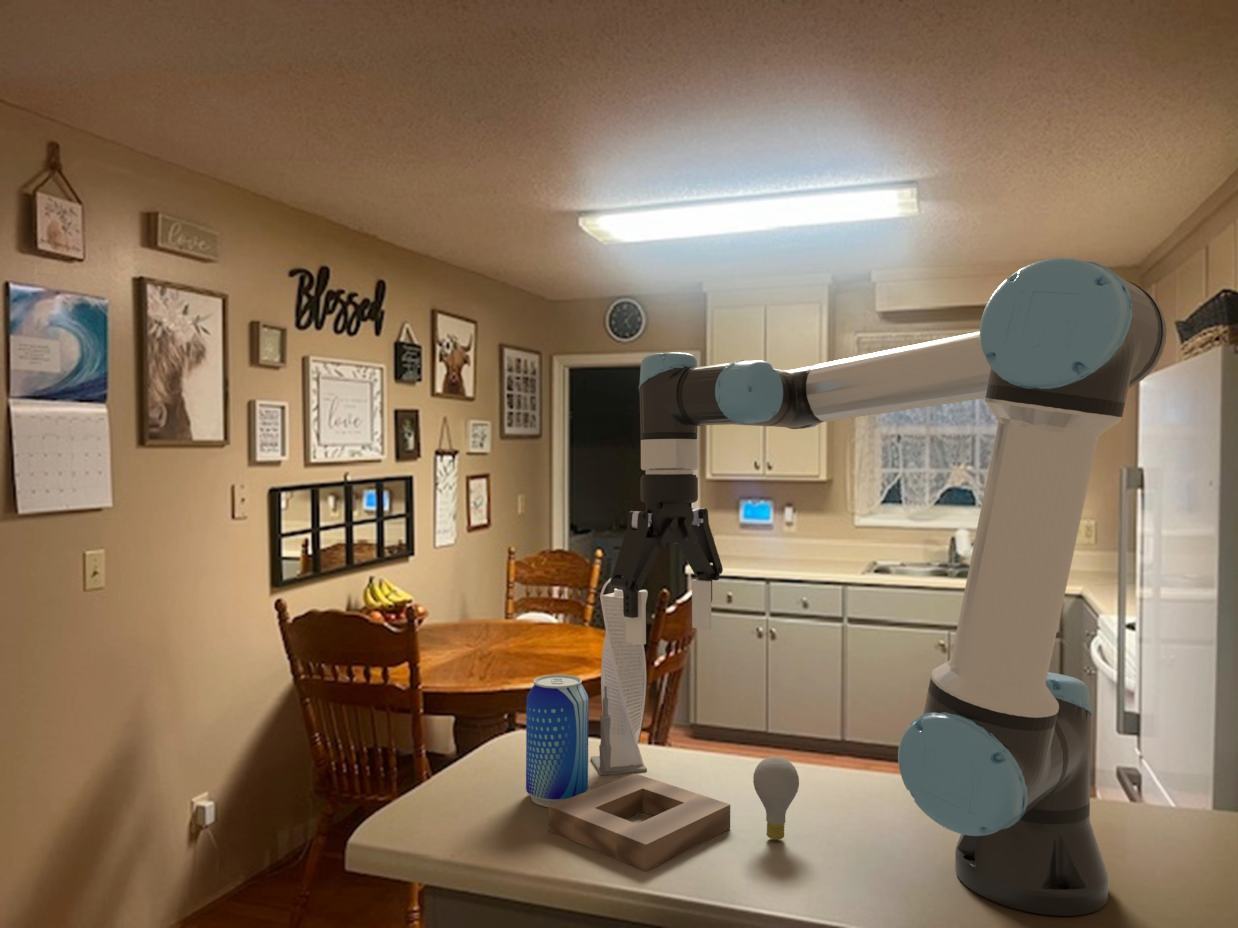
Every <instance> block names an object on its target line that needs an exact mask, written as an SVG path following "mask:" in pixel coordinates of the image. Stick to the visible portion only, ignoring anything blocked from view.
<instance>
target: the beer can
mask: <svg viewBox="0 0 1238 928" xmlns="http://www.w3.org/2000/svg"><path fill="white" fill-rule="evenodd" d="M532 682H533V685H532V687H530V690H529V691H528V694H527V696H526V701H525V702H526V705H525V706H526V709H525V710H526V713H525V714H526V715H525V716H526V718H525V719H526V721H525V722H526V723H525V724H526V725H525V726H526V727H525V728H526V729H525V730H526V731H525V732H526V733H525V737H526V739H525V741H526V742H525V745H526V746H525V747H526V749H525V755H526V756H525V790H526V791H525V792H526V793H527V794H528V795H529V796H530V799H531V801H532V802H533V803H534V804H535V805H537V806H541V807H545V808H549V806H550V805H553V804H555V803H558V802H561V801H563V800H566V799H568V798H571V797H574V796H576V795H579V794H582V793H584V792H587V791H589V704H590V703H589V700H590V699H589V694H588V693H587V691H586V690H585V687H584V686H583V684H582V682H583V680H582V679H581V678H580V677H579V676H576V675H571V674H570V675H569V674H548V675H547V674H546V675H541V676H538V677H536V678H534V679H533V681H532Z"/></svg>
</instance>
